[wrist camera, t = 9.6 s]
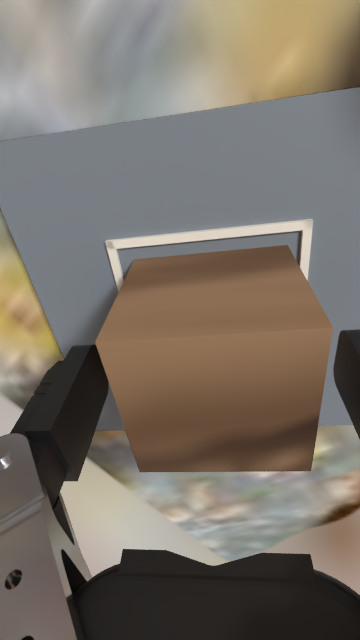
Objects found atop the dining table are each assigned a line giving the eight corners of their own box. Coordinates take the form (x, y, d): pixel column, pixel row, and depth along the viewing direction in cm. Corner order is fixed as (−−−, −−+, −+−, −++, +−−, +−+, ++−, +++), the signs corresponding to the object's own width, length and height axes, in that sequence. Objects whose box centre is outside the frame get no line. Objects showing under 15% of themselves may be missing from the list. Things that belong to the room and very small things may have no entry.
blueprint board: (-9, 142, 11) (-29, 146, 10) (440, 74, 9) (467, 70, 8) (99, 416, 19) (93, 433, 18) (357, 408, 17) (366, 427, 16)
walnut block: (134, 259, 12) (95, 342, 8) (287, 244, 11) (333, 327, 7) (158, 370, 15) (139, 471, 11) (281, 364, 14) (310, 471, 10)
